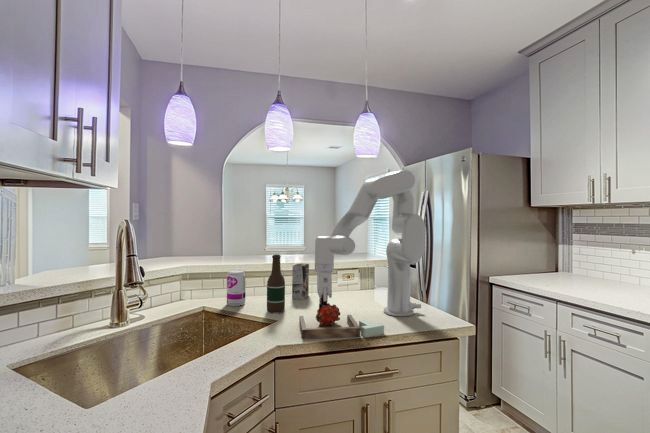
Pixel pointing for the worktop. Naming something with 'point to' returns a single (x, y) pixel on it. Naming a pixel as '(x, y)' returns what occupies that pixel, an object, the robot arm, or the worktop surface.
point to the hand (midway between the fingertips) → (323, 313)
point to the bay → (330, 330)
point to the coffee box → (300, 281)
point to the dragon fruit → (327, 315)
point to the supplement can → (236, 287)
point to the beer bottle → (276, 288)
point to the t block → (370, 328)
